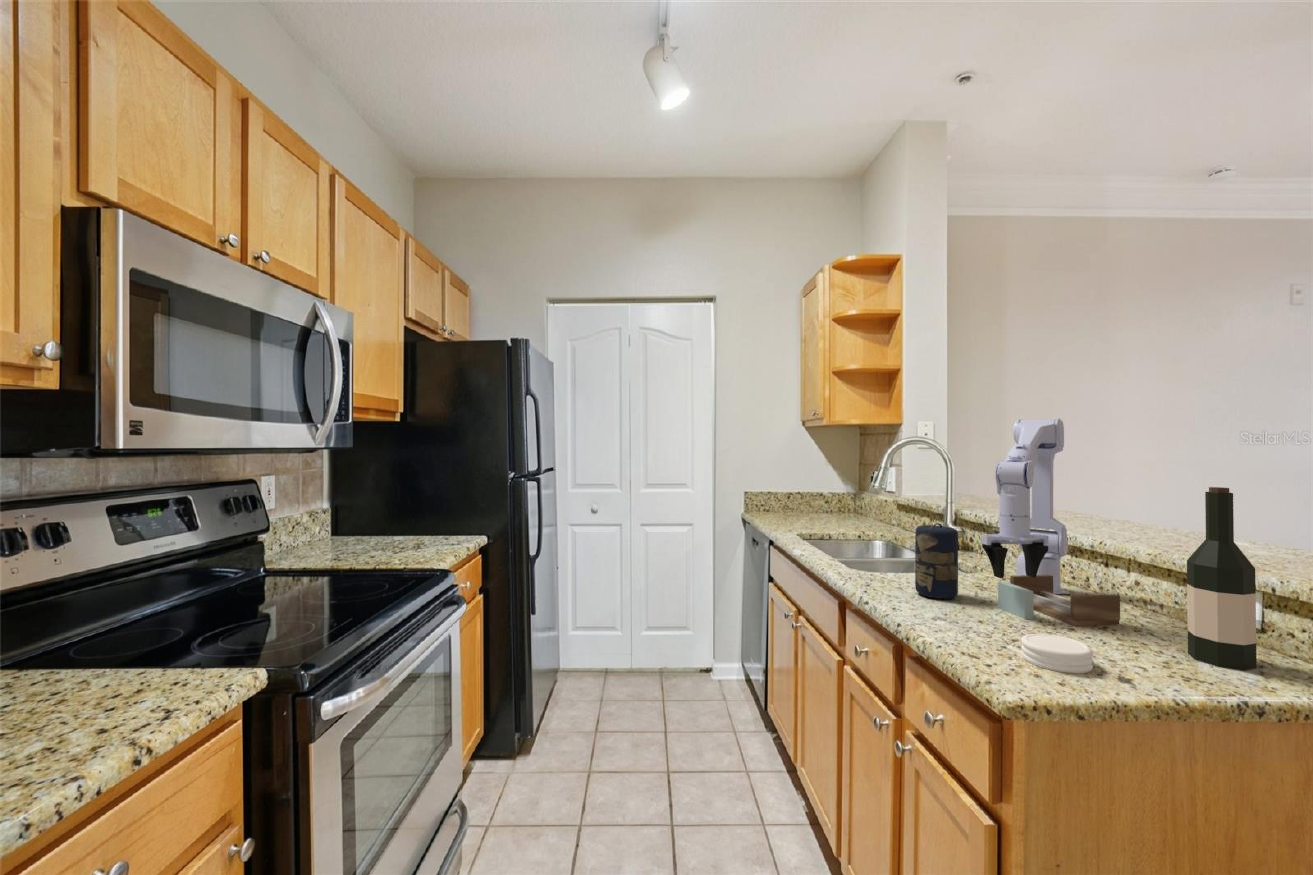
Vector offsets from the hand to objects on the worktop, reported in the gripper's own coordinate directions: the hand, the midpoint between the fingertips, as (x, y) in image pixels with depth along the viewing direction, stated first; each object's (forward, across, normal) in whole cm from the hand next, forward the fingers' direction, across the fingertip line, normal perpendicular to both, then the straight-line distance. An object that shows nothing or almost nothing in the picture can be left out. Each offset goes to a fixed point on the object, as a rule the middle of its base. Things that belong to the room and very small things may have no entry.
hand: (1014, 576), depth 122 cm
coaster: (+9, -13, -26) cm, 30 cm away
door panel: (+8, 0, 0) cm, 8 cm away
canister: (+8, -9, +15) cm, 19 cm away
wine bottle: (+8, +16, -28) cm, 33 cm away
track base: (+8, +11, 0) cm, 14 cm away
